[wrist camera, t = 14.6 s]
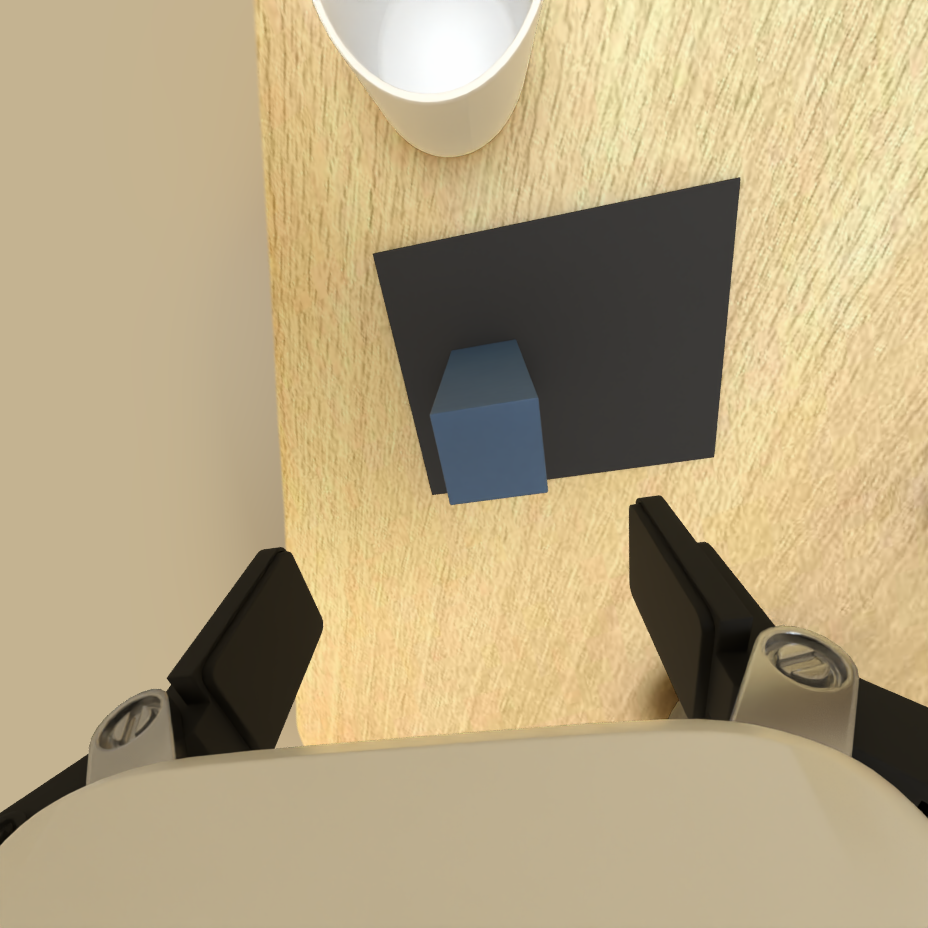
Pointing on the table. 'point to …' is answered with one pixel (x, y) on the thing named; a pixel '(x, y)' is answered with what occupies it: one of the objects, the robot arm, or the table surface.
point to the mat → (582, 324)
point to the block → (489, 425)
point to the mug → (437, 64)
